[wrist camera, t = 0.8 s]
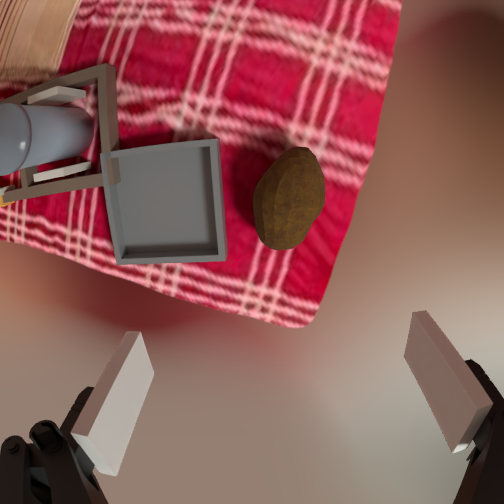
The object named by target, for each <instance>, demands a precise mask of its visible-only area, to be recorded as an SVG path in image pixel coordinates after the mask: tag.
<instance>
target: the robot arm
mask: <svg viewBox="0 0 504 504" xmlns="http://www.w3.org/2000/svg"><path fill="white" fill-rule="evenodd" d="M404 358H405V359H406V361H407V363H408V365H409V367H410V369H411V371H412V372H413V374H414V376H415V378H416V380H417V382H418V384H419V386H420V388H421V390H422V392H423V394H424V396H425V398H426V400H427V402H428V404H429V406H430V408H431V410H432V412H433V414H434V416H435V418H436V420H437V422H438V424H439V426H440V428H441V430H442V433H443V434H444V437H445V439H446V441H447V443H448V446H449V448H450V450H451V452H452V453H455V452H458V451H461V450H463V449H466V448H468V446H469V445H470V443H471V441H472V440H473V441H474V443H475V445H476V446H475V447H474V449H473V450H472V452H471V454H470V455H469V457H468V458H467V461H468V460H469V459H470V461H469V464H468V467H467V470H466V473H465V475H464V478H463V480H462V483H461V486H460V488H459V491H458V493H457V496H456V498H455V500H454V502H453V504H504V398H503V397H502V395H501V394H500V393H499V391H498V390H497V388H496V387H495V386H494V384H493V383H492V381H490V378H489V377H488V376H487V374H485V371H484V370H483V369H482V368H481V366H480V365H479V364H477V363H476V362H474V361H473V360H471V359H470V360H466V361H464V360H463V359H462V357H461V356H460V355H459V353H458V352H457V350H456V349H455V348H454V346H453V345H452V344H451V342H450V341H449V339H448V338H447V337H446V335H445V334H444V333H443V332H442V331H441V329H440V328H439V326H438V325H437V324H436V322H435V321H434V320H433V319H432V317H431V316H430V315H429V314H428V313H427V311H426V310H425V311H418V312H413V313H412V319H411V324H410V330H409V335H408V340H407V345H406V349H405V354H404ZM153 376H154V371H153V368H152V365H151V362H150V359H149V356H148V353H147V350H146V347H145V344H144V341H143V338H142V335H141V332H126V334H125V336H124V337H123V339H122V340H121V342H120V344H119V345H118V348H117V349H116V351H115V353H114V354H113V356H112V358H111V359H110V361H109V363H108V364H107V366H106V368H105V370H104V371H103V373H102V375H101V377H100V379H99V381H98V382H97V384H96V386H95V387H87V388H85V389H84V390H83V391H82V392H81V393H80V394H79V395H78V397H77V399H76V401H75V404H73V406H72V407H71V410H70V411H69V413H68V415H67V417H66V418H65V420H64V422H63V424H62V426H61V427H60V429H59V428H58V427H57V425H56V424H55V423H54V422H52V421H50V420H43V421H40V422H38V423H36V424H35V425H34V426H33V427H32V428H31V430H30V432H29V437H30V439H31V440H32V441H33V444H32V443H30V444H27V443H26V442H25V441H24V440H23V438H22V437H20V436H11V437H8V438H7V439H6V440H5V441H4V442H3V444H2V446H1V452H0V504H108V502H107V500H106V498H105V496H104V494H103V492H102V490H101V488H100V486H99V484H98V482H97V479H96V477H95V476H94V474H93V473H92V471H93V468H94V466H96V468H97V469H98V470H99V471H100V473H104V474H108V475H113V476H117V473H118V471H119V468H120V465H121V462H122V460H123V457H124V454H125V451H126V448H127V445H128V442H129V440H130V437H131V434H132V432H133V429H134V426H135V423H136V421H137V418H138V415H139V413H140V410H141V407H142V405H143V402H144V399H145V397H146V394H147V391H148V389H149V387H150V384H151V381H152V379H153Z"/></svg>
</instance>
